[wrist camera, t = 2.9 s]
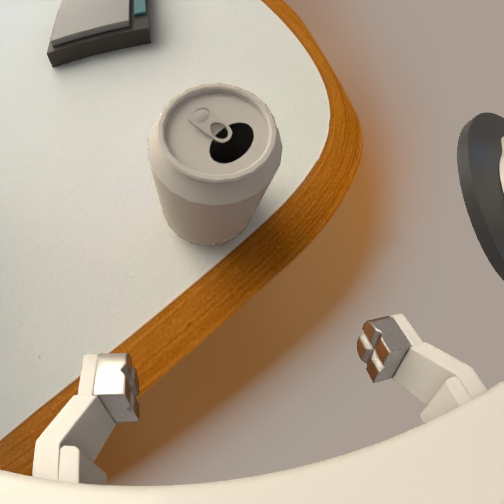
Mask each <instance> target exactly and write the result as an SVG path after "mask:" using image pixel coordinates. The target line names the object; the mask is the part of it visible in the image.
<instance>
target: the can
mask: <svg viewBox="0 0 504 504" xmlns="http://www.w3.org/2000/svg"><path fill="white" fill-rule="evenodd" d="M281 154H282V143H281V139H280V134H279V130H278V128H277V127H276V124H275V120H274V117H273V115H272V114H271V112H270V111H269V109H268V107H267V106H266V104H264V103H263V102H262V101H261V100H260V99H259V98H257V97H256V96H255V95H254V94H252V93H250V92H248V91H246V90H244V89H242V88H239V87H237V86H232V85H227V84H221V83H217V84H202V85H199V86H196V87H192V88H189V89H186V90H185V91H183V92H182V93H180V94H178V95H177V96H175V97H174V98H172V99H171V101H170V102H169V103H168V104H167V105H166V107H165V108H164V109H163V110H162V112H161V114H160V116H159V117H158V118H157V119H156V121H155V122H154V124H153V126H152V129H151V132H150V135H149V138H148V159H149V163H150V166H151V170H152V174H153V178H154V181H155V185H156V189H157V192H158V196H159V199H160V203H161V206H162V210H163V213H164V215H165V218H166V220H167V222H168V224H169V226H170V227H171V228H172V229H173V230H174V231H175V232H176V234H177V235H178V236H180V237H181V238H183V239H185V240H187V241H189V242H191V243H194V244H199V245H205V246H209V245H217V244H222V243H225V242H227V241H229V240H231V239H233V238H235V237H236V236H237V235H238V234H239V233H240V232H241V231H243V230H244V229H245V227H246V225H247V224H248V222H249V220H250V218H251V216H252V215H253V213H254V211H255V209H256V207H257V206H258V204H259V202H260V200H261V198H262V196H263V195H264V193H265V191H266V189H267V187H268V186H269V184H270V182H271V180H272V178H273V177H274V175H275V173H276V171H277V169H278V167H279V166H280V161H281Z"/></svg>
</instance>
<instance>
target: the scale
mask: <svg viewBox="0 0 504 504" xmlns="http://www.w3.org/2000/svg"><path fill="white" fill-rule="evenodd" d="M147 43H151V39H150V25H149V8H148V0H62V2H61V5H60V8H59V11H58V14H57V17H56V21H55V24H54V28H53V31H52V35H51V39H50V43H49V47H48V51H47V55H48V58H49V60H50V62H51V64H52V67H55V66H58V65H61V64H64V63H67V62H71V61H74V60H78V59H81V58H85V57H88V56H92V55H96V54H100V53H104V52H108V51H112V50H117V49H122V48H126V47H131V46H136V45H142V44H147Z"/></svg>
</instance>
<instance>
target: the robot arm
mask: <svg viewBox="0 0 504 504" xmlns="http://www.w3.org/2000/svg"><path fill="white" fill-rule="evenodd" d="M501 144H502V155H501V158H500V165H499V170H500V179H501V185H502V189H503V193H504V137H502V138H501ZM362 329H363V330H364V332H363V333H362V334H361V335H360V337H359V339H358V342H357V351H358V354H359V356H360V358H361V360H362V361H364V362H365V363H367V369H366V370H367V371H368V373H369V375H370V377H371V379H372V381H373V383H375V382H379V381H383V380H386V379H390V378H392V379H393V380H394V381H396V382H397V383H398V384H400V385H401V386H402V387H404V388H405V389H406V390H408V391H409V392H410V393H412V394H413V395H414V396H416V397H417V398H418V399H420V400H421V401H422V402H424V403H425V404H426V407H425V408H424V409H423V410H422V411H421V413H420V418H421V420H422V422H423V424H422V425H420V426H418V427H416V428H413V429H411V430H409V431H406V432H404V433H402V434H399V435H397V436H394V437H392V438H389V439H387V440H384V441H382V442H379V443H376V444H373V445H370V446H368V447H365V448H362V449H359V450H356V451H353V452H350V453H347V454H343V455H341V456H337V457H334V458H330V459H327V460H323V461H320V462H316V463H312V464H308V465H304V466H300V467H296V468H292V469H287V470H283V471H278V472H273V473H268V474H263V475H258V476H252V477H245V478H239V479H232V480H225V481H217V482H207V483H197V484H184V485H165V486H114V485H107V475H106V474H105V473H104V472H103V471H102V470H101V469H100V468H99V467H98V466H97V465H95V464H94V463H93V462H94V460H95V459H96V457H97V455H98V454H99V452H100V450H101V448H102V447H103V445H104V443H105V442H106V440H107V438H108V437H109V435H110V433H111V432H112V430H113V428H114V427H115V425H116V423H121V422H139V403H138V401H137V399H136V397H137V396H138V395H139V381H138V375H137V371H136V369H135V367H133V366H132V359H131V356H130V354H129V353H114V354H86V355H85V356H84V358H83V364H82V370H81V376H80V383H79V390H78V395H74V396H73V397H72V398H71V399H70V400H69V402H68V403H67V404H66V405H65V406H64V408H63V409H62V410H61V411H60V412H59V414H58V415H57V416H56V417H55V419H54V420H53V421H52V422H51V423H50V425H49V426H48V427H47V428H46V429H45V431H44V432H43V433H42V434H41V436H40V437H39V438H38V439H37V441H36V445H35V453H34V462H33V473H32V474H33V475H32V476H26V475H21V474H17V473H12V472H7V471H3V470H0V504H504V381H502V382H500V383H499V384H497V385H496V386H494V387H493V388H491V389H489V390H487V389H486V388H485V386H484V385H483V383H482V382H481V380H480V379H479V377H478V376H477V374H476V373H475V371H474V370H473V369H472V367H470V366H468V365H467V364H465V363H463V362H461V361H460V360H458V359H456V358H454V357H452V356H450V355H448V354H447V353H445V352H443V351H441V350H439V349H438V348H436V347H434V346H432V345H430V344H429V343H427V342H426V343H423V342H422V340H421V339H420V337H419V336H418V335H417V333H416V332H415V330H414V329H413V327H412V326H411V325H410V323H409V322H408V321H407V319H406V318H405V317H404V315H402V314H396V315H392V316H386V317H382V318H378V319H373V320H369V321H366V323H364V325H363V328H362Z"/></svg>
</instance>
